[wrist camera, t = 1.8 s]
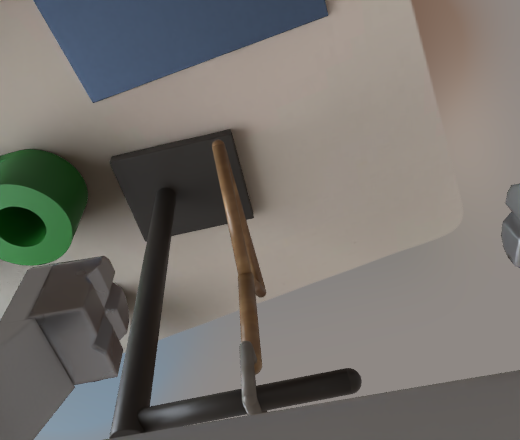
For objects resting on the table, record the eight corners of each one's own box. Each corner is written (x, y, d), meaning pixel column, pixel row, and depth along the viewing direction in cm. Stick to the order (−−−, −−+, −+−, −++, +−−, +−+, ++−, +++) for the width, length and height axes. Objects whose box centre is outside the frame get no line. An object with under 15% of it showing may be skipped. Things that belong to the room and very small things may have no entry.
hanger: (224, 135, 37) (229, 317, 21) (267, 290, 46) (293, 492, 31) (209, 139, 37) (203, 323, 21) (255, 293, 46) (275, 495, 31)
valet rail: (288, 115, 45) (357, 335, 23) (304, 200, 51) (371, 441, 29) (111, 156, 46) (16, 403, 24) (146, 235, 52) (95, 492, 30)
